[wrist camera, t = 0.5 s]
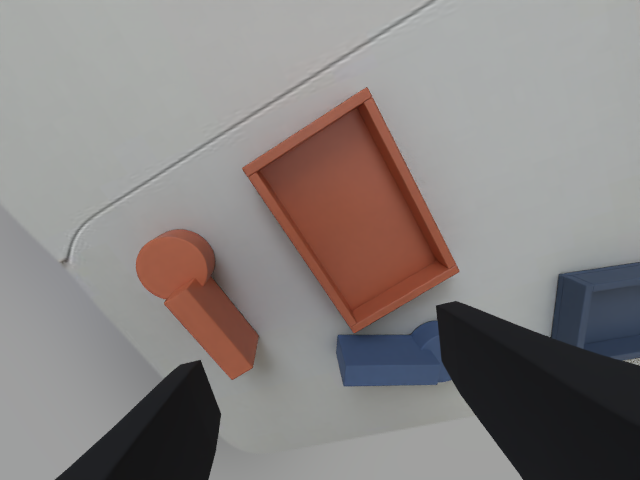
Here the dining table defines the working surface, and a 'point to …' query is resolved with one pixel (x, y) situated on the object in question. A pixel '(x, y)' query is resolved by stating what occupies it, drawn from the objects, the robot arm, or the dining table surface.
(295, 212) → the terracotta tray
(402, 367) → the slate spoon
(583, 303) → the slate tray
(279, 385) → the dining table surface
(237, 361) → the terracotta spoon
